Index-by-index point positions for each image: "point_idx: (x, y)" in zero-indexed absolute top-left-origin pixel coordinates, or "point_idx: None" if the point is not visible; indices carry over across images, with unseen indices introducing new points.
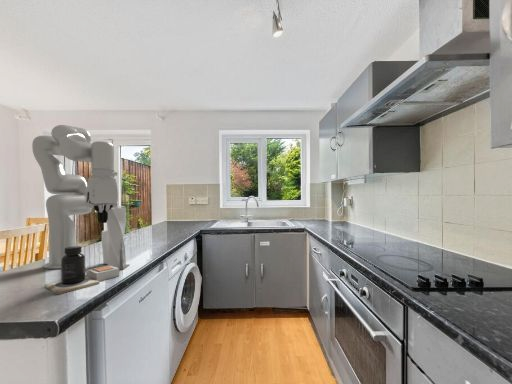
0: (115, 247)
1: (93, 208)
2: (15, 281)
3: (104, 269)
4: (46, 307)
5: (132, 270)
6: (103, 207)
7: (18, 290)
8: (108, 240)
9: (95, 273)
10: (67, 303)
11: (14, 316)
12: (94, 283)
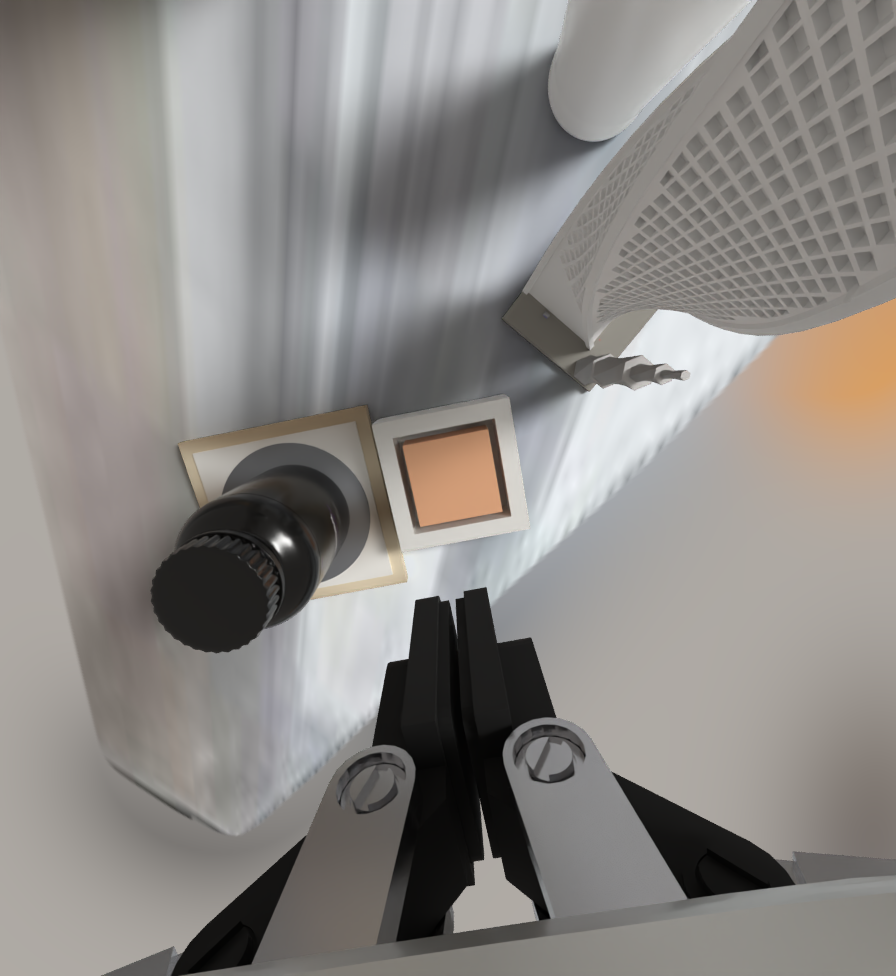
0: (613, 307)
1: (225, 917)
2: (14, 166)
3: (451, 514)
4: (205, 720)
5: (622, 448)
6: (533, 865)
7: (71, 405)
8: (644, 15)
9: (398, 537)
10: (269, 729)
11: (120, 733)
12: (385, 584)
